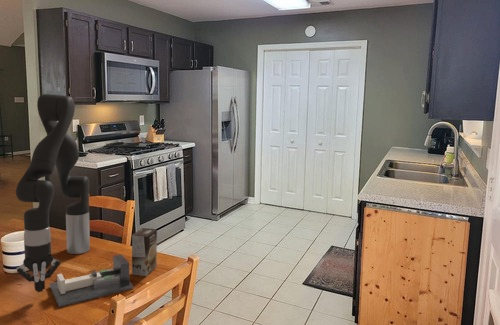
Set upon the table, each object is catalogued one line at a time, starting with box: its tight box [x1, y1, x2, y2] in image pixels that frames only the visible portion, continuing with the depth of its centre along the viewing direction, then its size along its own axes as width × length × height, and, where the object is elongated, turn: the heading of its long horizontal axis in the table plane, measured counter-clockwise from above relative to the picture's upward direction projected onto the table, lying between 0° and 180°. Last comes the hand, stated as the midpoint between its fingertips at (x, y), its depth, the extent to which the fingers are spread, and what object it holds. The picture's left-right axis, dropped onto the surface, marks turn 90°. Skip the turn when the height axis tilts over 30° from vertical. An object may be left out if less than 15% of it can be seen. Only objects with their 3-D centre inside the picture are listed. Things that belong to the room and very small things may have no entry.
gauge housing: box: [49, 253, 134, 308], centre depth 135 cm, size 16×24×8 cm, turn 126°
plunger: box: [56, 269, 101, 294], centre depth 133 cm, size 6×13×5 cm, turn 126°
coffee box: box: [131, 227, 158, 277], centre depth 150 cm, size 9×6×16 cm
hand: (39, 290), depth 126 cm, fingers closed
